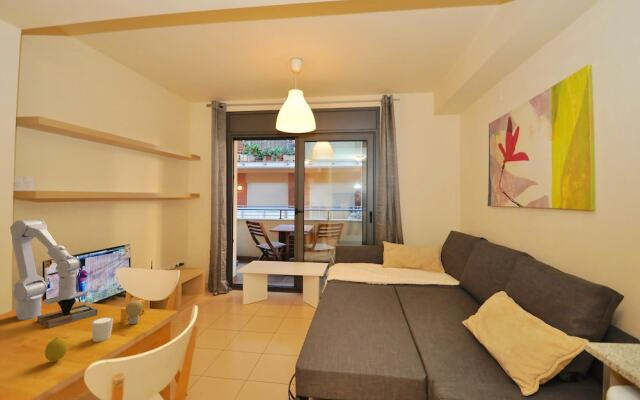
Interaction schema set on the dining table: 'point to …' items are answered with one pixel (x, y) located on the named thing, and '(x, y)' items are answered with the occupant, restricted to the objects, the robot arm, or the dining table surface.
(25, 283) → the robot arm
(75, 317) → the tray
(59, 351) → the lemon
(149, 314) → the dining table surface
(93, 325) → the white cup
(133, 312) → the light bulb
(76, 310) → the brass chip
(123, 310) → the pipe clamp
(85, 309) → the silvery white square block
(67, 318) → the slot board
